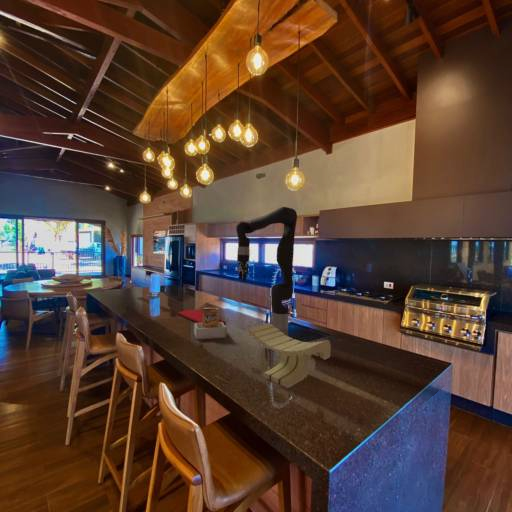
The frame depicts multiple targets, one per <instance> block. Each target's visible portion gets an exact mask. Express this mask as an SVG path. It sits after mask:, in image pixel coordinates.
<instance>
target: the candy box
mask: <svg viewBox="0 0 512 512" xmlns="http://www.w3.org/2000/svg"><path fill="white" fill-rule="evenodd" d="M202 310H203V311H202V312H203V328H213V327H218V318H219V313H220V312H219V311H220V308H219V307H207V306H206V307H203V309H202Z"/></svg>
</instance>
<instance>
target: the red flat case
mask: <svg viewBox="0 0 512 512" xmlns="http://www.w3.org/2000/svg"><path fill="white" fill-rule="evenodd" d="M178 315H180V316H181V317H183V316H184V317H183V318H185V319H188V320H190V321H192V320H193V321H192V322H194V323H203V311H201V310H199V309H186V310H182V311H179V312H178ZM218 322H223V323H224V324H225V325H226V324H227V323H226V321H224V320H222V318H219V317H218Z"/></svg>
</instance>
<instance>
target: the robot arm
mask: <svg viewBox="0 0 512 512" xmlns="http://www.w3.org/2000/svg"><path fill="white" fill-rule="evenodd" d="M297 221H298V213H297V211H296V209H294V208H291V207H287V206H281V207H279V208H277V209H275V210H273V211H271V212H270V213H267V214H265V215H262V216H259V217H256V218H253V219H250V220H249V221H248V222H246V221H239V222H238V223H237V224H236V234H237V239H238V244H237V254H236V256H237V258H236V259H237V260H236V261H237V262H238V263H237V272H238V280H242V281H243V282H246V281H247V275H248V274H249V264H248V263H249V262H250V254H251V253H250V252H251V250H250V242H251V241H250V238H249V237H248V236H247V235H248V234H252V233H254V232H256V231H259V230H263V229H265V228H267V227H269V226H270V225H273V224H282V225H283V234H282V236H281V239H280V240H279V242H278V244H277V248H276V262H277V264H278V267H279V269H280V271H281V273H282V283H274V284H273V285H272V287H271V292H270V293H271V294H270V295H271V296H270V297H271V298H270V300H271V301H270V305H271V323H270V324H272V325H274V326H275V328H277V329H279V330H280V332H282V333H284V334H285V335H286V336H288V337H289V315H290V314H289V312H290V311H289V307H288V306H286V305H284V304H283V301H290V300H291V298H292V297H293V293H294V287H293V286H294V282H293V267H294V266H293V265H294V252H295V250H294V248H295V247H294V245H295V234H296V228H297ZM246 234H247V235H246Z"/></svg>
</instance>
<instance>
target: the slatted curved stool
mask: <svg viewBox="0 0 512 512" xmlns="http://www.w3.org/2000/svg"><path fill="white" fill-rule="evenodd" d="M248 335H249V336H251V337H253V340H256V341H257V340H258V343H259V344H260V345H262V344H263V348H266V349H268V350H272V351H274V352H276V353H281V360H280V362H279V363H277V365H276V366H274V367H272V368H271V369H268V370H266V371H264V372H263V374H262V377H263V378H265V379H267V380H270V381H271V382H273V383H276V384H277V385H280V386H282V387H285V388H287V389H289V388H291V387H293V386H294V385H296V384H298V383H300V382H302V381H303V380H305V379H306V378H307V377H308V374H309V373H308V372H309V363H310V360H311V357H312V355H313V356H316V357H319V358H321V359H323V360H324V361H326V360H327V359H329V358H331V350H332V349H331V346H332V345H331V341H330V340H329V339H325V340H321V341H318V342H315V341H313V342H307V341H301V340H298V339H296V338H295V339H294V338H292V337H290V336H289V335H288V336H286V335H285V334H284V333H282V332H280V330H279V329H277V328H275V326H274V325H272V324H271V323H265V324H260V325H256V326H253V327H249V328H248ZM305 377H306V378H305ZM304 378H305V379H304Z"/></svg>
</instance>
